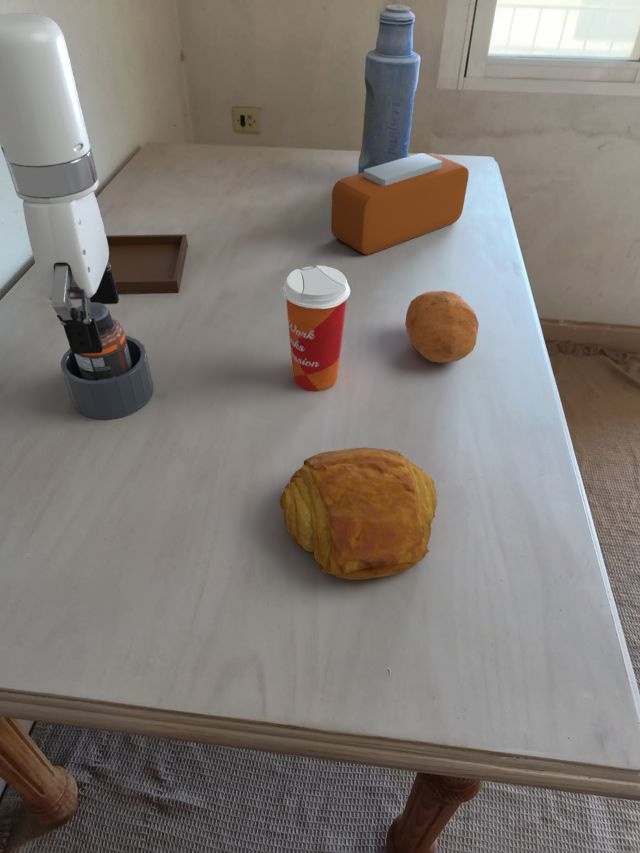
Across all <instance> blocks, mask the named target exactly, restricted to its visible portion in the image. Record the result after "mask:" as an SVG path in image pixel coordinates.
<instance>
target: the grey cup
mask: <svg viewBox="0 0 640 853" xmlns="http://www.w3.org/2000/svg"><path fill="white" fill-rule="evenodd" d="M125 338H126V342H127V346H128V350H129V353H130V357H131V362H132V365H133V368H132V369H131V370H129V371H128V372H127V373H125V374H122V375H120V376H117V377H115V378H110V379H106V380H86V379H83V378H82V375H81V372H80V369H79V366H78V363H77V360H76V357H75V354H74V353H73V352H72V351H71V348H70V347H69V349H67V351H66V352H65V353H64V354H63V356H62V358H61V361H60V368H61V373H62V375H63V376H62V377H63V379H64V382H65V384H66V388H67V390H68V393H69V397H70V399H71V402H72V404H73V407H74V408H75V410H76V411H77V412H78V413H79V414H81V415H82V416H84V417H87V418H90V419H93V420H103V421H104V420H105V421H106V420H115V419H121V418H124V417H128V416H130V415H132V414H135V413H137V412H138V411H139V410H141V409H142V408H143V407H145V406H146V405H147V404H148V403H149V401H150V400H151V399H152V396H153V394H154V383H153V378H152V372H151V369H150V364H149V359H148V355H147V351H146V348H145V345H143V343H141V342H140V340H139V339H136V338H134V337H133V336H129V335H125Z"/></svg>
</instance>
